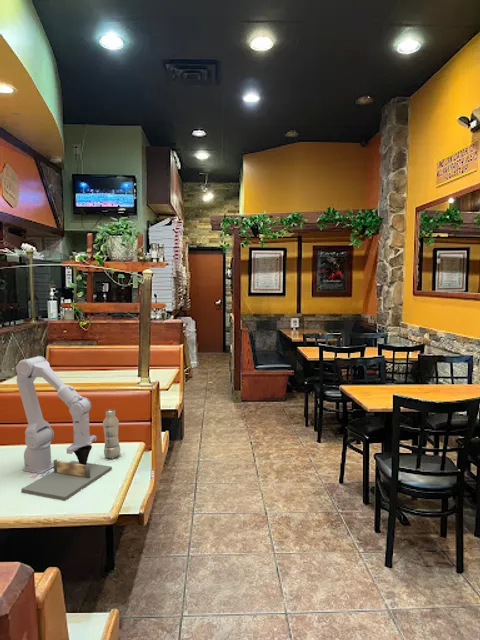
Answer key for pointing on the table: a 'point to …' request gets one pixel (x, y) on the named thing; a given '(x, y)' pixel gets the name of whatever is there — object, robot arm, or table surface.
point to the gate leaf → (71, 468)
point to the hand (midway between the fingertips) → (83, 465)
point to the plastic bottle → (111, 434)
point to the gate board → (65, 482)
